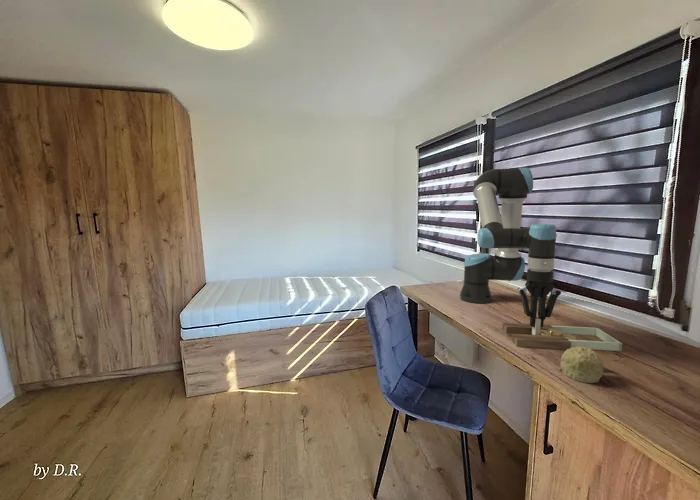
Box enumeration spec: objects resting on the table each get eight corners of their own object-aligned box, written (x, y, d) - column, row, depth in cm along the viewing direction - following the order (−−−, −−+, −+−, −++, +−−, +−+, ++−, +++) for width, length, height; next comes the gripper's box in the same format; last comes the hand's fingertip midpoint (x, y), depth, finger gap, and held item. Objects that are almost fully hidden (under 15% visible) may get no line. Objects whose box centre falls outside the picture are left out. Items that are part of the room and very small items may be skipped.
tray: (550, 334, 109) (550, 325, 108) (596, 337, 106) (597, 327, 106) (568, 350, 97) (569, 340, 96) (621, 353, 94) (622, 343, 93)
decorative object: (571, 393, 80) (598, 375, 74) (545, 359, 88) (568, 340, 82) (594, 389, 83) (622, 371, 77) (567, 356, 91) (590, 338, 85)
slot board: (502, 331, 113) (502, 322, 112) (548, 333, 110) (549, 324, 109) (516, 349, 98) (517, 339, 98) (570, 352, 95) (571, 342, 95)
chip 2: (544, 335, 106) (545, 328, 106) (556, 335, 106) (557, 328, 105) (551, 340, 102) (552, 333, 102) (563, 340, 102) (564, 333, 101)
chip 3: (559, 339, 104) (560, 332, 103) (573, 341, 102) (574, 334, 102) (562, 343, 100) (562, 336, 100) (576, 346, 99) (577, 339, 98)
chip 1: (534, 336, 105) (535, 329, 105) (546, 336, 105) (546, 329, 105) (541, 341, 101) (542, 334, 101) (553, 341, 101) (554, 334, 101)
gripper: (523, 271, 98) (519, 339, 101) (567, 272, 96) (561, 341, 99) (515, 267, 105) (511, 330, 109) (556, 267, 103) (551, 332, 106)
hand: (535, 335), depth 104 cm, fingers closed
